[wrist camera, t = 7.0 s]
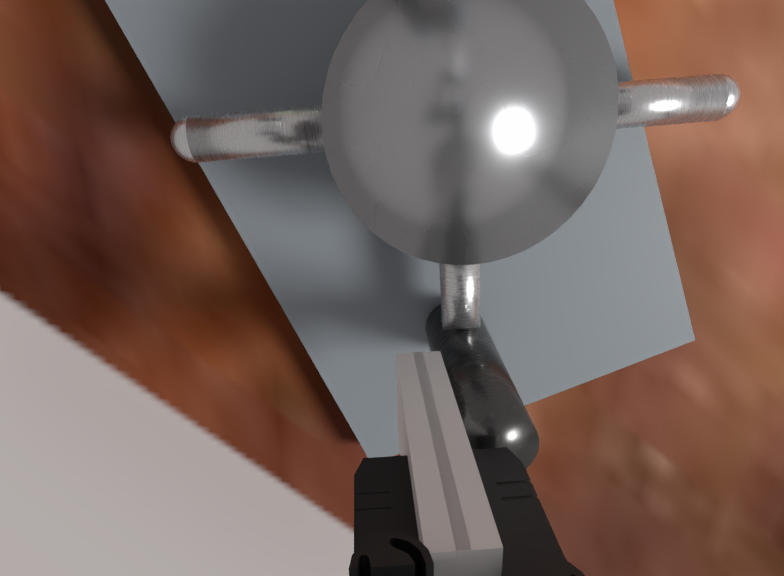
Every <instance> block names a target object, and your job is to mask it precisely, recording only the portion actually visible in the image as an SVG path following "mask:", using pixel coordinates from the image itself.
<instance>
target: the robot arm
mask: <svg viewBox="0 0 784 576" xmlns="http://www.w3.org/2000/svg"><path fill="white" fill-rule="evenodd" d="M395 354H396V388H397V422H398V439H399V448H400V456H389V457H374V458H363V460H362V462H361V464H360V466H359V468H358V469H357V471H356V473H355V475H354V554H353V555H352V558H351V563H350V566H349V576H585V575H584V574H583V573H582V572H581V571H580V570H578V569H577V568H576V567H575V566H573V565H572V564H571V563H569V562H567V560H566V558H565V557H564V555H563V553H562V550H561V548H560V546H559V544H558V541H557V539H556V537H555V535H554V532H553V530H552V528H551V526H550V523H549V521H548V519H547V517H546V514H545V512H544V510H543V508H542V505H541V503H540V501H539V499H537V494H536V492H535V490H534V487H533V485H532V483H530V478H529V476H528V474H527V472H526V469H525V467H524V465H523V463H522V461H521V460H520V459H519V458H517V457H516V456H515V455H514V454H513V453H512V452H511V451H510V450H509V449H508V448H507V447H502V448H488V449H473V450H472V449H471V446H470V442H469V439H468V436H467V433H466V430H465V427H464V424H463V421H462V418H461V414H460V411H459V408H458V405H457V402H456V399H455V396H454V393H453V389H452V386H451V383H450V380H449V377H448V374H447V371H446V368H445V365H444V361H443V358H442V355H441V352H440V351H432V352H413V353H395Z"/></svg>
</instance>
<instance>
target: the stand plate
mask: <svg viewBox="0 0 784 576" xmlns="http://www.w3.org/2000/svg"><path fill="white" fill-rule="evenodd" d="M105 1H106V3H107V5H108V6H109V8H110V10H111V12H112V13H113V15H114V17H115V19H116V20H117V22H118V24H119V26H120V27H121V29H122V31H123V32H124V34H125V36H126V38H127V39H128V41H129V43H130V45H131V46H132V48H133V50H134V52H135V53H136V55H137V57H138V59H139V60H140V62H141V64H142V66H143V67H144V69H145V71H146V72H147V74H148V76H149V78H150V79H151V81H152V83H153V85H154V86H155V88H156V90H157V92H158V93H159V95H160V97H161V99H162V100H163V102H164V104H165V105H166V107H167V109H168V111H169V112H170V114H171V116H172V118H173V119H174V121H175V123H176V122H177V121H178V120H180V119H181V118H183V117H186V116H193V115H206V114H219V113H231V112H244V111H257V110H269V109H282V108H295V107H307V106H320V105H322V99H323V91H324V86H325V81H326V76H327V72H328V69H329V66H330V63H331V60H332V57H333V54H334V52H335V50H336V48H337V45H338V43H339V41H340V39H341V37H342V35H343V33H344V32H345V30H346V28H347V27H348V25H349V24H350V22H351V21H352V19H353V18H354V16H355V15H356V13H357V12H358V11H359V10H360V9H361V8H362V6H363V5H364V4H365V3H366V2H367V1H368V0H105ZM584 1H585V2H586V3H587V5H588V6H589V7H590V9H591V10H592V11H593V13H594V14H595V16H596V18H597V19H598V21H599V23H600V25H601V27H602V28H603V30H604V32H605V35H606V37H607V40H608V43H609V45H610V48H611V50H612V54H613V58H614V63H615V67H616V71H617V80H618V82H623V81H633V80H632V76H631V72H630V68H629V64H628V59H627V55H626V51H625V47H624V43H623V39H622V34H621V30H620V26H619V22H618V18H617V14H616V10H615V5H614V1H613V0H584ZM198 163H199V165H200V166H201V168H202V170H203V172H204V173H205V175H206V177H207V178H208V180H209V182H210V184H211V185H212V187H213V189H214V191H215V192H216V194H217V196H218V198H219V199H220V201H221V203H222V205H223V206H224V208H225V210H226V212H227V213H228V215H229V217H230V218H231V220H232V222H233V224H234V225H235V227H236V229H237V231H238V232H239V234H240V236H241V238H242V239H243V241H244V243H245V245H246V246H247V248H248V250H249V251H250V253H251V255H252V257H253V258H254V260H255V262H256V264H257V265H258V267H259V269H260V271H261V272H262V274H263V276H264V278H265V279H266V281H267V283H268V285H269V286H270V288H271V290H272V291H273V293H274V295H275V297H276V298H277V300H278V302H279V304H280V305H281V307H282V309H283V311H284V312H285V314H286V316H287V318H288V319H289V321H290V323H291V324H292V326H293V328H294V330H295V331H296V333H297V335H298V337H299V338H300V340H301V342H302V344H303V345H304V347H305V349H306V351H307V352H308V354H309V356H310V358H311V359H312V361H313V363H314V364H315V366H316V368H317V370H318V371H319V373H320V375H321V377H322V378H323V380H324V382H325V384H326V385H327V387H328V389H329V391H330V392H331V394H332V396H333V398H334V399H335V401H336V403H337V404H338V406H339V408H340V410H341V411H342V413H343V415H344V417H345V418H346V420H347V422H348V424H349V425H350V427H351V429H352V431H353V432H354V434H355V436H356V437H357V439H358V441H359V443H360V444H361V446H362V448H363V450H364V451H365V453H366V455H367V457H368V458H374V457H389V456H395V455H397V454H400V448H399V439H398V422H397V388H396V354H395V353H413V352H430V349H429V344H428V340H427V335H426V330H425V326H426V321H427V318H428V316H429V314H430V313H431V312H432V310H433V309H434V308H436V307H437V306H438V305H440V304H441V293H440V268H439V263H435V262H431V261H426V260H422V259H419V258H416V257H414V256H411V255H409V254H406V253H404V252H402V251H400V250H398V249H396V248H394V247H392V246H391V245H389V244H387V243H386V242H385V241H383V240H382V239H380V238H379V237H378V236H376V235H375V234H374V233H373V232H372V231H371V230H370V229H368V228H367V227H366V226H365V225H364V224H363V223H362V222H361V221H360V220H359V218H358V217H357V216H356V215H355V214H354V212H353V211H352V210H351V209H350V207H349V206H348V204H347V203H346V201H345V199H344V198H343V196H342V195H341V193H340V191H339V189H338V187H337V185H336V182H335V180H334V178H333V176H332V173H331V170H330V167H329V164H328V161H327V158H326V153H325V152H323V153H310V154H298V155H285V156H273V157H260V158H248V159H235V160H223V161H210V162H198ZM480 315H481V317H482V319H483V321H484V323H485V325H486V327H487V329H488V331H489V333H490V336H491V338H492V340H493V342H494V344H495V346H496V348H497V350H498V352H499V354H500V356H501V358H502V360H503V363H504V365H505V367H506V369H507V371H508V373H509V375H510V377H511V379H512V381H513V383H514V385H515V387H516V390H517V392H518V394H519V396H520V398H521V400H522V402H523V404H524V406H525V405H528V404H530V403H533V402H535V401H538V400H541V399H543V398H546V397H548V396H551V395H554V394H556V393H559V392H561V391H564V390H567V389H569V388H572V387H574V386H577V385H580V384H582V383H585V382H587V381H590V380H593V379H595V378H598V377H600V376H603V375H606V374H608V373H611V372H613V371H616V370H619V369H621V368H624V367H627V366H629V365H632V364H634V363H637V362H640V361H642V360H645V359H647V358H650V357H653V356H655V355H658V354H660V353H663V352H666V351H668V350H671V349H673V348H676V347H679V346H681V345H684V344H686V343H689V342H692V341H694V340H695V338H694V333H693V329H692V325H691V321H690V317H689V313H688V309H687V304H686V300H685V296H684V292H683V288H682V284H681V280H680V275H679V271H678V267H677V263H676V259H675V255H674V250H673V246H672V242H671V238H670V234H669V230H668V226H667V221H666V217H665V213H664V209H663V205H662V201H661V196H660V192H659V188H658V184H657V180H656V176H655V172H654V167H653V163H652V159H651V155H650V151H649V147H648V142H647V138H646V134H645V130H644V127H635V128H622V129H616V132H615V136H614V140H613V143H612V147H611V151H610V154H609V156H608V159H607V161H606V164H605V166H604V169H603V171H602V173H601V175H600V177H599V179H598V180H597V182H596V184H595V186H594V188H593V189H592V191H591V192H590V194H589V195H588V197H587V198H586V199H585V201H584V202H583V204H582V205H581V206H580V207H579V208H578V209H577V211H576V212H575V213H574V214H573V215H572V216H571V217H570V219H568V220H567V221H566V222H565V223H564V224H563V225H562V226H561V227H560V228H558V229H557V230H556V231H555V232H554V233H552V234H551V235H549V236H548V237H547V238H545V239H544V240H542V241H541V242H539V243H538V244H536V245H534V246H532V247H530V248H528V249H527V250H525V251H523V252H520V253H518V254H515V255H513V256H510V257H508V258H504V259H500V260H497V261H493V262H489V263H482V264H480Z"/></svg>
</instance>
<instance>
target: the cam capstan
mask: <svg viewBox="0 0 784 576" xmlns="http://www.w3.org/2000/svg"><path fill="white" fill-rule="evenodd" d="M740 96H741V91H740V87H739V84H738V83H737V82H736V80H735V79H734V78H732V77H730V76H728V75H724V74H712V75H699V76H686V77H674V78H661V79H648V80H636V81H623V82H618V80H617V71H616V67H615V63H614V58H613V54H612V50H611V48H610V45H609V43H608V40H607V37H606V35H605V32H604V30H603V28H602V27H601V25H600V23H599V21H598V19H597V18H596V16H595V14H594V13H593V11H592V10H591V9H590V7H589V6H588V5H587V3H586V2H585V1H584V0H368V1H367V2H366V3H365V4H364V5H363V6H362V8H361V9H360V10H359V11H358V12H357V13H356V15H355V16H354V18H353V19H352V21H351V22H350V24H349V25H348V27H347V28H346V30H345V32H344V33H343V35H342V37H341V39H340V41H339V43H338V45H337V48H336V50H335V52H334V54H333V57H332V60H331V63H330V66H329V69H328V72H327V76H326V81H325V86H324V91H323V99H322V105H320V106H307V107H295V108H282V109H269V110H257V111H244V112H231V113H219V114H206V115H193V116H186V117H183V118H181V119H180V120H178V121H177V122H176V123H175V124H174V126H173V128H172V130H171V135H170V139H171V144H172V146H173V148H174V150H175V152H176V153H177V154H178V155H179V156H180V157H182V158H183V159H185V160H187V161H190V162H210V161H223V160H235V159H248V158H260V157H273V156H285V155H298V154H310V153H323V152H325V153H326V158H327V161H328V164H329V167H330V170H331V173H332V176H333V178H334V180H335V182H336V185H337V187H338V189H339V191H340V193H341V195H342V196H343V198H344V199H345V201H346V203H347V204H348V206H349V207H350V209H351V210H352V211H353V212H354V214H355V215H356V216H357V217H358V218H359V220H360V221H361V222H362V223H363V224H364V225H365V226H366V227H367V228H368V229H370V230H371V231H372V232H373V233H374V234H375V235H376V236H378V237H379V238H380V239H382V240H383V241H385V242H386V243H387V244H389V245H391V246H392V247H394V248H396V249H398V250H400V251H402V252H404V253H406V254H409V255H411V256H414V257H416V258H419V259H422V260H426V261H431V262H435V263H439V268H440V293H441V304H440V305H438V306H437V307H436V308H434V309H433V310H432V312H431V313H430V314H429V316H428V318H427V321H426V326H425V330H426V335H427V340H428V344H429V349H430V352H432V351H440V352H441V355H442V358H443V361H444V365H445V368H446V371H447V374H448V377H449V380H450V383H451V386H452V389H453V393H454V396H455V399H456V402H457V405H458V408H459V411H460V414H461V418H462V421H463V424H464V427H465V430H466V433H467V436H468V439H469V442H470V446H471V449H472V450H473V449H488V448H502V447H507V448H508V449H509V450H510V451H511V452H512V453H513V454H514V455H515V456H516V457H517V458H519V459H520V460H521V461H522V463H523V465H524V467H525V469H526V468H527V467H528V466H529V465H530V464H531V463H532V462H533V460H534V458H535V457H536V454H537V452H538V448H539V438H538V434H537V431H536V429H535V427H534V425H533V423H532V421H531V419H530V417H529V414H528V412H527V410H526V408H525V406H524V404H523V402H522V400H521V398H520V396H519V394H518V392H517V390H516V387H515V385H514V383H513V381H512V379H511V377H510V375H509V373H508V371H507V369H506V367H505V365H504V363H503V360H502V358H501V356H500V354H499V352H498V350H497V348H496V346H495V344H494V342H493V340H492V338H491V336H490V333H489V331H488V329H487V327H486V325H485V323H484V321H483V319H482V317H481V315H480V264H482V263H489V262H493V261H497V260H500V259H504V258H508V257H510V256H513V255H515V254H518V253H520V252H523V251H525V250H527V249H528V248H530V247H532V246H534V245H536V244H538V243H539V242H541V241H542V240H544V239H545V238H547V237H548V236H549V235H551V234H552V233H554V232H555V231H556V230H557V229H558V228H560V227H561V226H562V225H563V224H564V223H565V222H566V221H567V220H568V219H570V217H571V216H572V215H573V214H574V213H575V212H576V211H577V209H578V208H579V207H580V206H581V205H582V204H583V202H584V201H585V199H586V198H587V197H588V195H589V194H590V192H591V191H592V189H593V188H594V186H595V184H596V182H597V180H598V179H599V177H600V175H601V173H602V171H603V169H604V166H605V164H606V161H607V159H608V156H609V154H610V151H611V147H612V143H613V140H614V136H615V132H616V129H622V128H635V127H647V126H660V125H672V124H685V123H697V122H710V121H717V120H720V119H722V118H725V117H726V116H728V115H729V114H730V113H731V112H732V111H733V110H734V109H735V108H736V107H737V105H738V103H739V100H740Z"/></svg>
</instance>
